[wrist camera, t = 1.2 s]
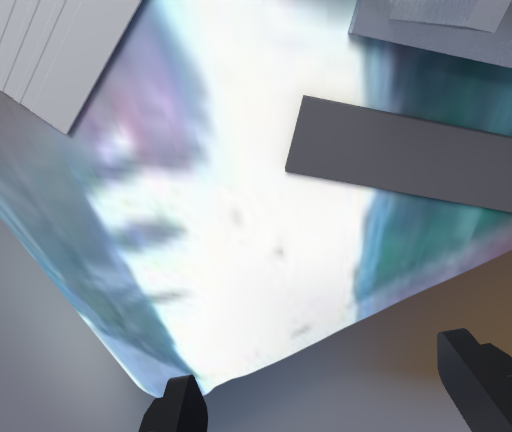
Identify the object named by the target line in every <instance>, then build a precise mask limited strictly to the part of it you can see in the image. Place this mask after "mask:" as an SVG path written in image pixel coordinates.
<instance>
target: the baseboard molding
mask: <svg viewBox="0 0 512 432" xmlns="http://www.w3.org/2000/svg"><path fill="white" fill-rule="evenodd" d="M141 2H142V0H0V90H1V91H2V92H5V93H6V94H7V95H9V96H10V97H12V98H13V99H14V100H15V101H17V102H18V103H20V104H22V105H24V106H25V107H27V108H28V109H30V110H31V111H32V112H33V113H35V114H36V115H38V116H39V117H40V118H42V119H43V120H45V121H46V122H48V123H49V124H51V125H52V126H54V127H55V128H57V129H58V130H60V131H61V132H63V133H64V134H68V133H69V131H70V129H71V127H72V126H73V124H74V122H75V120H76V119H77V117H78V115H79V113H80V111H81V110H82V108H83V106H84V104H85V102H86V101H87V99H88V97H89V95H90V93H91V92H92V90H93V88H94V86H95V84H96V83H97V81H98V79H99V77H100V75H101V74H102V72H103V70H104V68H105V67H106V65H107V63H108V61H109V59H110V58H111V56H112V54H113V52H114V50H115V49H116V47H117V45H118V43H119V41H120V40H121V38H122V36H123V34H124V32H125V31H126V29H127V27H128V25H129V23H130V22H131V20H132V18H133V16H134V15H135V13H136V11H137V9H138V7H139V6H140V4H141Z"/></svg>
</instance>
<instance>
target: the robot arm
mask: <svg viewBox="0 0 512 432" xmlns="http://www.w3.org/2000/svg"><path fill="white" fill-rule="evenodd" d="M437 352H438V353H437V355H438V371H439V375H440V378H441V380H442V383H443V385H444V387H445V389H446V390H447V392H448V393H449V395H450V397H451V398H452V400H453V402H454V403H455V405H456V407H457V408H458V410H459V411H460V413H461V415H462V416H463V418H464V419H465V421H466V423H467V424H468V426H469V428H470V429H471V431H472V432H512V358H511V356H510V355H508V354H506V353H505V352H503V351H502V350H500V349H499V348H497V347H495V346H493V345H492V344H491V343H487V344H482V345H480V344H479V343H478V342H477V341H476V339H475V338H474V337H473V336H472V335H471V334H470V332H469V331H468V330H466V329H464V328H462V329H456V330H450V331H444V332H439V333H438V335H437ZM207 426H208V413H207V406H206V403H205V401H204V398H203V396H202V394H201V391H200V389H199V387H198V384H197V382H196V380H195V377H194V376H193V375H186V376H180V377H174V378H170V379H169V380H168V382H167V385H166V388H165V392H164V395H163V397H161V398H156V399H155V400H154V401H153V402H152V404H151V406H150V407H149V408H148V410H147V411H146V413H145V414H144V417H143V420H142V423H141V426H140V429H139V432H207Z"/></svg>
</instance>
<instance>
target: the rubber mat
mask: <svg viewBox="0 0 512 432" xmlns="http://www.w3.org/2000/svg"><path fill="white" fill-rule="evenodd" d="M285 171H286V172H292V173H297V174H303V175H308V176H314V177H319V178H325V179H330V180H336V181H341V182H347V183H352V184H358V185H363V186H369V187H374V188H380V189H385V190H391V191H396V192H402V193H407V194H413V195H418V196H424V197H429V198H435V199H440V200H446V201H451V202H457V203H462V204H468V205H473V206H478V207H484V208H489V209H495V210H500V211H506V212H511V213H512V137H510V136H505V135H500V134H495V133H490V132H485V131H480V130H475V129H470V128H465V127H460V126H455V125H450V124H445V123H440V122H435V121H430V120H425V119H420V118H415V117H410V116H405V115H400V114H395V113H390V112H385V111H380V110H375V109H370V108H365V107H360V106H355V105H350V104H345V103H340V102H335V101H330V100H325V99H320V98H315V97H310V96H305V95H303V99H302V103H301V107H300V111H299V115H298V119H297V123H296V127H295V131H294V135H293V139H292V143H291V147H290V150H289V154H288V158H287V162H286V166H285Z"/></svg>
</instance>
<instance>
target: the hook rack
mask: <svg viewBox="0 0 512 432" xmlns="http://www.w3.org/2000/svg"><path fill="white" fill-rule="evenodd" d="M348 32H349V33H352V34H356V35H361V36H366V37H370V38H375V39H380V40H384V41H389V42H393V43H398V44H403V45H407V46H412V47H416V48H421V49H426V50H430V51H435V52H440V53H444V54H449V55H453V56H458V57H463V58H467V59H472V60H476V61H481V62H486V63H490V64H495V65H500V66H504V67H509V68H512V2H511V0H357V3H356V7H355V10H354V13H353V17H352V20H351V23H350V27H349V30H348Z"/></svg>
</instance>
